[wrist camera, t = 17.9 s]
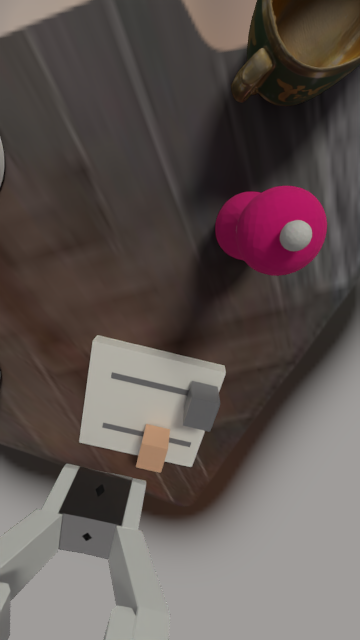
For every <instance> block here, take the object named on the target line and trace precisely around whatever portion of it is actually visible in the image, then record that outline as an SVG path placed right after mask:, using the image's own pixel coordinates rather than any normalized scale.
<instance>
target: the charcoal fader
mask: <svg viewBox="0 0 360 640" xmlns="http://www.w3.org/2000/svg"><path fill="white" fill-rule="evenodd" d="M219 406H220V399H219V392H218V387H217V386H212V385H208V384H204V383H200V382H195V381H192V382H191V385H190V389H189V392H188V395H187V398H186V401H185V405H184V413H183V426H187V427H191V428H195V429H200V430H204V431H209V432H210V430H211V428H212V425H213V422H214V420H215V417H216V414H217V412H218V409H219Z"/></svg>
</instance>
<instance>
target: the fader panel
mask: <svg viewBox="0 0 360 640" xmlns="http://www.w3.org/2000/svg"><path fill="white" fill-rule="evenodd" d="M225 374H226V370H225V366H224V365H220V364H216V363H212V362H207V361H203V360H199V359H195V358H191V357H187V356H182V355H178V354H174V353H170V352H166V351H162V350H157V349H153V348H149V347H145V346H141V345H137V344H132V343H128V342H124V341H120V340H116V339H112V338H108V337H103V336H99V335H97V336H96V338H95V339H94V340H93V343H92V350H91V358H90V365H89V372H88V380H87V387H86V394H85V402H84V409H83V417H82V424H81V431H80V439H79V442H80V443H84V444H89V445H93V446H98V447H102V448H107V449H111V450H116V451H120V452H125V453H129V454H134V455H139V451H140V447H141V443H142V439H143V435H144V431H145V427H146V424H149V425H153V426H157V427H162V428H166V429H170V435H169V444H168V451H167V454H166V457H165V462H170V463H174V464H179V465H183V466H188V467H192V465H193V462H194V459H195V457H196V454H197V451H198V448H199V446H200V443H201V440H202V437H203V435H204V432H205V431H204V430H200V429H195V428H191V427H187V426H183V413H184V405H185V401H186V398H187V395H188V392H189V389H190V385H191V382H192V381H195V382H200V383H204V384H208V385H212V386H217V387H218V392H219V391H220V388H221V385H222V382H223V380H224V377H225Z"/></svg>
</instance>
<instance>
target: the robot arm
mask: <svg viewBox="0 0 360 640" xmlns="http://www.w3.org/2000/svg"><path fill="white" fill-rule="evenodd" d="M3 175H4V151H3V146H2V142H1V138H0V186H1V183H2V180H3ZM145 488H146V481H145V480H140V479H135V478H133V479H132V477H127V476H122V475H117V474H112V473H105V472H101V471H97V470H92V469H88V468H84V467H80V466H76V465H71V464H66V465H65V466H64V467H63V469H62V471H61V473H60V475H59V477H58V478H57V481H56V482H55V484H54V486H53V488H52V490H51V492H50V494H49V496H48V498H47V499H46V501H45V503H44V505H43V507H42V509H41V510H40V509H36V510H35V511H33V512H32V513H31V514H29V515H28V516H27V517H25V518H24V519H23V520H21V521H20V522H19V523H17V524H16V525H15V526H14V527H12V528H11V529H10V530H8V531H7V532H6V533H4V534H3V535H2V536H0V640H8V638H9V636H10V601H11V600H12V599H13V598H14V597H15V596H16V595H17V594H18V593H19V592H20V591H21V590H22V589H23V588H24V586H25V585H26V584H27V583H28V582H29V581H30V580H31V579H32V578H33V577H34V576H35V575H36V574H37V573H38V572H39V571H40V570H41V569H42V567H44V565H45V564H46V563H47V562H48V561H49V560H50V559H51V558H52V557H53V556H54V555H55V554H56V553H57V552H58V549H60V550H66V551H72V552H78V553H84V554H88V555H93V556H96V557H101V558H105V559H109V560H108V562H109V568H110V573H111V579H112V584H113V590H114V595H115V601H116V607H115V608H114V609H113V610H112V612H111V616H110V619H109V622H108V626H107V629H106V632H105V636H104V640H169V627H170V612H169V609H168V606H167V603H166V600H165V597H164V595H163V591H162V588H161V585H160V582H159V580H158V576H157V574H156V571H155V568H154V565H153V562H152V559H151V556H150V553H149V550H148V547H147V544H146V541H145V538H144V535H143V532H142V531H140V530H138V527H139V521H140V516H141V510H142V505H143V499H144V493H145Z"/></svg>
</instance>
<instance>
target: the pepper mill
mask: <svg viewBox="0 0 360 640" xmlns="http://www.w3.org/2000/svg"><path fill="white" fill-rule="evenodd" d="M215 232H216V238H217V241H218V243H219V245H220V247H221V248H222V249H223V251H224V252H225V253H227V254H228V255H229V256H231V257H233V258H236V259H239V260H244V261H245V262H246V263H247V264H248V265H249V266H250V267H251V268H253V269H254V270H256V271H258V272H261V273H264V274H268V275H277V276H279V275H286V274H290V273H293V272H296V271H298V270H300V269H302V268H303V267H305V266H306V265H307V264H308V263H310V262H311V261H312V260H313V259H314V258H315V257H316V255H317V254H318V252H319V251H320V249H321V247H322V245H323V242H324V240H325V236H326V232H327V220H326V215H325V212H324V209H323V207H322V205H321V203H320V202H319V201H318V200H317V198H316V197H315V196H314V195H312V194H311V193H310V192H308V191H306V190H304V189H302V188H298V187H294V186H278V187H274V188H271V189H268V190H266V191H264V192H262V193H260V192H253V191H250V192H243V193H240V194H237V195H235V196H234V197H232V198H230V199H229V200H228V201H227V202H226V203H225V204H224V205H223V207H222V208H221V210H220V211H219V214H218V216H217V219H216V224H215Z"/></svg>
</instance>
